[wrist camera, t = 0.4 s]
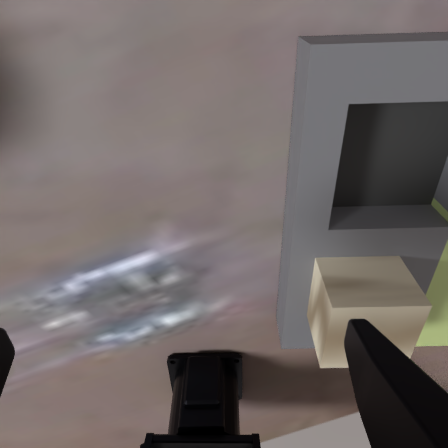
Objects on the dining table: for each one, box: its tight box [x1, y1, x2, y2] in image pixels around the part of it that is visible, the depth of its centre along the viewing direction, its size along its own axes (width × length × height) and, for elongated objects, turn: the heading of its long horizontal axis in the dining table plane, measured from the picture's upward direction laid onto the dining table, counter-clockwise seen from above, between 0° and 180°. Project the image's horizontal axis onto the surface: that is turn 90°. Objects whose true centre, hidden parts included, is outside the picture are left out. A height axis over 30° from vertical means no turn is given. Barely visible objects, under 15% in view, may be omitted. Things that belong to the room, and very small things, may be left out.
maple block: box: [307, 256, 432, 368], centre depth 21 cm, size 5×5×4 cm
